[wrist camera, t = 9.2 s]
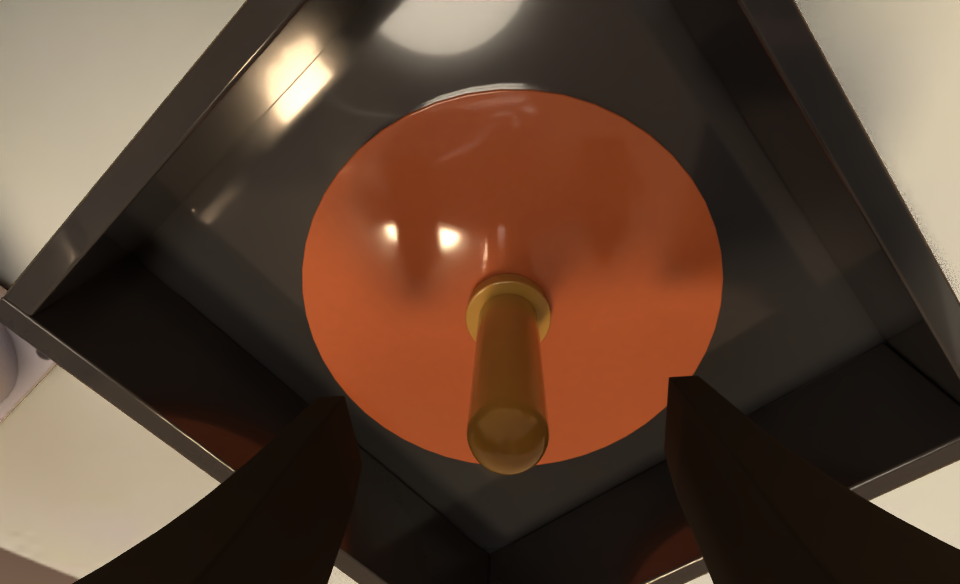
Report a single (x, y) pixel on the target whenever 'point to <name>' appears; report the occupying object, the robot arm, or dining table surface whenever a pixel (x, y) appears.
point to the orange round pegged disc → (512, 277)
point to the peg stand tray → (476, 65)
